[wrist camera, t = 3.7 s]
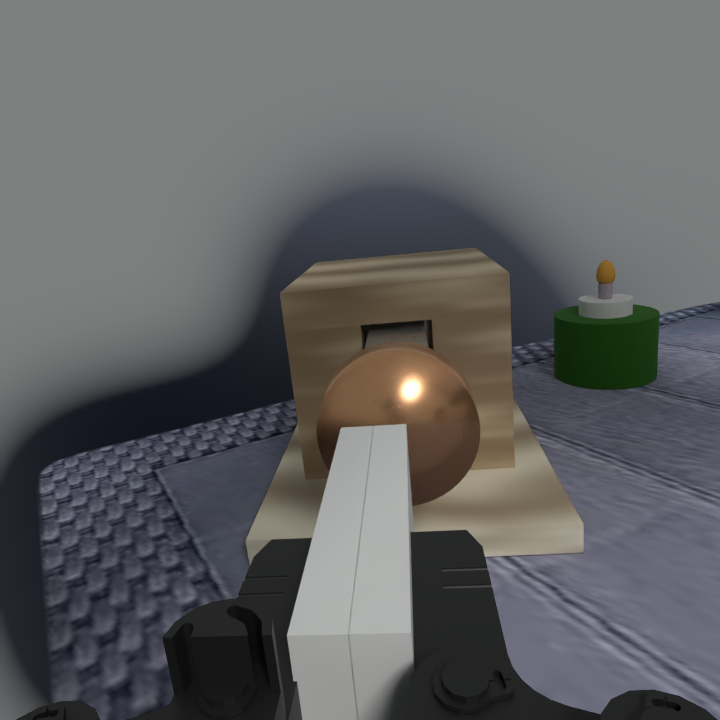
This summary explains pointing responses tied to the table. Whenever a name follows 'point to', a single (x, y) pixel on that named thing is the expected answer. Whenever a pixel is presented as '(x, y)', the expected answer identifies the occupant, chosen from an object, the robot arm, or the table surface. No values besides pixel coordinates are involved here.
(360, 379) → the door knob
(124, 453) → the table surface
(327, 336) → the press block
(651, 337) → the candle
